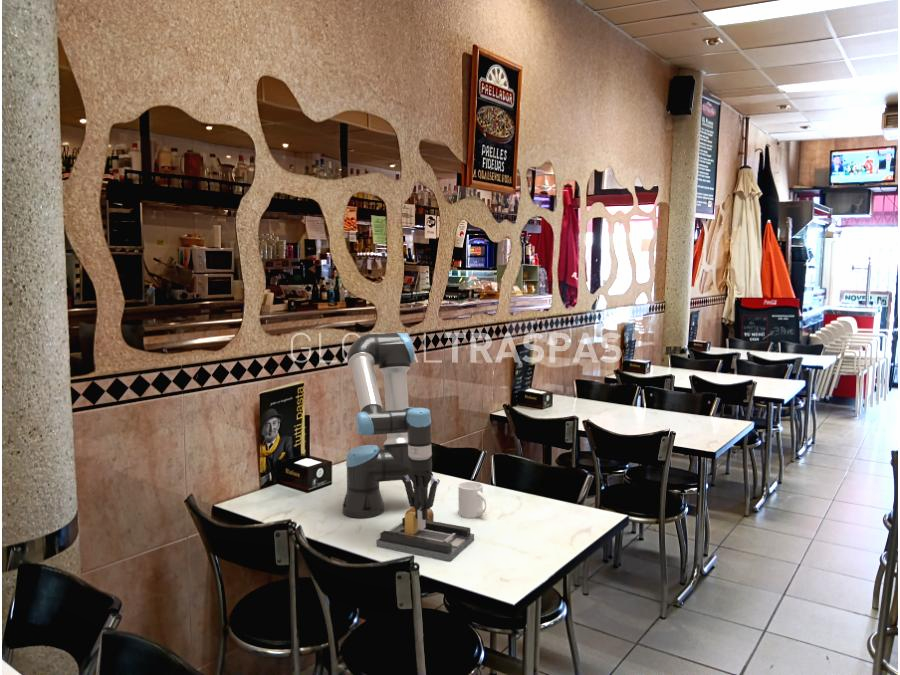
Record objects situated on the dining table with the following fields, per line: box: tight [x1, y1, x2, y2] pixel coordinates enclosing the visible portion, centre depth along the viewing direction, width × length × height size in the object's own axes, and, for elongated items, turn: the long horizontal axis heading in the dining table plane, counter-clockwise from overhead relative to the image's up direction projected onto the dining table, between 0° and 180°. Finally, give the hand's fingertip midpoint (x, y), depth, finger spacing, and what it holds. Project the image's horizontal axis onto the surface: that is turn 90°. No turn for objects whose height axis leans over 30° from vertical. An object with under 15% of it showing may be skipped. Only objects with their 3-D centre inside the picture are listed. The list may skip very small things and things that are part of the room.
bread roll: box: [405, 507, 435, 521], centre depth 243 cm, size 10×10×8 cm
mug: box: [458, 481, 487, 519], centre depth 248 cm, size 9×12×11 cm
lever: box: [404, 511, 419, 535], centre depth 226 cm, size 3×4×7 cm
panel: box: [376, 516, 475, 562], centre depth 225 cm, size 26×18×4 cm
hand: (421, 528), depth 225 cm, fingers closed
